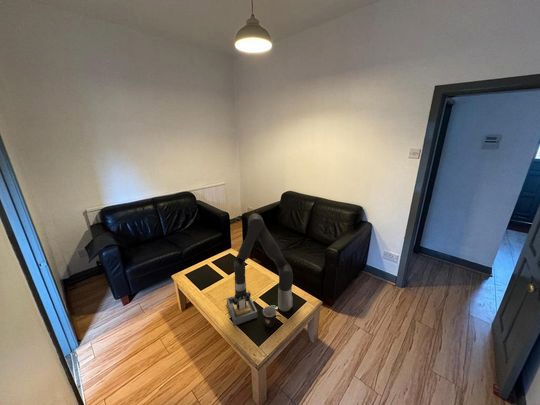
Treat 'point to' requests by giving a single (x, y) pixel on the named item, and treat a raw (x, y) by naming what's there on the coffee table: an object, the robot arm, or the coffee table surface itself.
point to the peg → (241, 304)
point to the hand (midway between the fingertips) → (241, 306)
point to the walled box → (242, 311)
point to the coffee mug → (270, 316)
